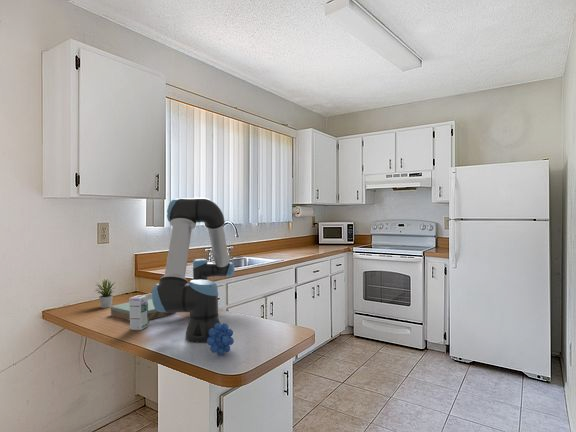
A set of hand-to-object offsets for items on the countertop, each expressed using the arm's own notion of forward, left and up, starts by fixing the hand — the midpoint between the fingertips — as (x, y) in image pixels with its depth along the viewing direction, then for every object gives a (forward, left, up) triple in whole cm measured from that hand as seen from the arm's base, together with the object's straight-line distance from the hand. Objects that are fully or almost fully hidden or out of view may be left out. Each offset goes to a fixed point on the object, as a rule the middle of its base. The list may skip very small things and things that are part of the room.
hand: (150, 299), depth 171 cm
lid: (+22, -2, -8) cm, 24 cm away
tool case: (+22, -2, -12) cm, 25 cm away
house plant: (+53, +12, -12) cm, 55 cm away
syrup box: (-2, +6, -12) cm, 13 cm away
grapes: (-56, -10, -12) cm, 58 cm away
